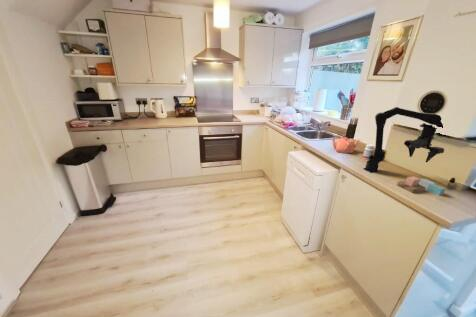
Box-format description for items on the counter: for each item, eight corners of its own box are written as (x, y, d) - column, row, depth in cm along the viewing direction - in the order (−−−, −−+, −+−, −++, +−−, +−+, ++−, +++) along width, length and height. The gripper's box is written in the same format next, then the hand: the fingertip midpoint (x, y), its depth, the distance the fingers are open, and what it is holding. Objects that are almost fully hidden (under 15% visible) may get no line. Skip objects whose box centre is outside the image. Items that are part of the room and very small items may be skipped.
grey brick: (417, 185, 122) (420, 179, 120) (422, 184, 122) (424, 178, 121) (429, 189, 116) (431, 183, 115) (433, 189, 117) (435, 183, 116)
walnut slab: (396, 186, 120) (398, 181, 119) (407, 184, 123) (409, 180, 122) (411, 193, 112) (413, 189, 111) (423, 192, 114) (425, 187, 113)
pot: (339, 147, 191) (342, 134, 187) (358, 152, 178) (361, 138, 173) (327, 150, 182) (330, 136, 177) (346, 155, 168) (349, 141, 164)
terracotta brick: (411, 186, 114) (413, 180, 113) (404, 183, 117) (407, 177, 116) (418, 185, 116) (420, 178, 114) (411, 182, 119) (413, 176, 118)
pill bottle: (368, 157, 166) (371, 144, 162) (372, 160, 160) (376, 146, 156) (360, 157, 166) (364, 144, 162) (365, 159, 160) (368, 146, 156)
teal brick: (426, 190, 116) (429, 184, 114) (431, 189, 117) (433, 183, 115) (438, 195, 110) (441, 189, 109) (443, 194, 111) (446, 188, 110)
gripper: (401, 132, 126) (393, 155, 132) (435, 140, 109) (425, 166, 115) (414, 131, 129) (406, 154, 135) (449, 139, 112) (439, 164, 118)
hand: (418, 159), depth 125 cm, fingers open, 9 cm apart
